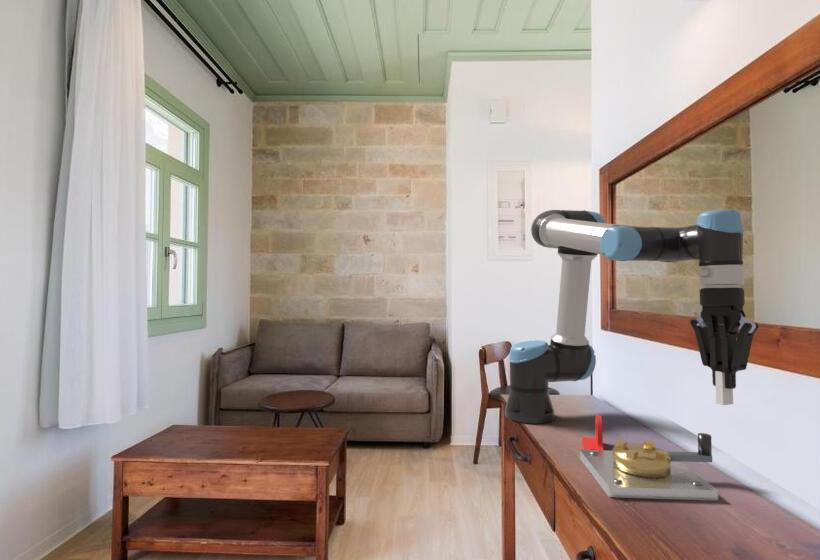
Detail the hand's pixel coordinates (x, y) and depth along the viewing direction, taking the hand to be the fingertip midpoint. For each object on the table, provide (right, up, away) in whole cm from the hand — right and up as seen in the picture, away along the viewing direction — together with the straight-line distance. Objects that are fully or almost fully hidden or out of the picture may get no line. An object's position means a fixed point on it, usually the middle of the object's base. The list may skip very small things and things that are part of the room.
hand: (724, 403), depth 91 cm
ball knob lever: (-10, -15, +5) cm, 19 cm away
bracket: (-18, -18, +22) cm, 34 cm away
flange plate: (-14, -17, +6) cm, 23 cm away
